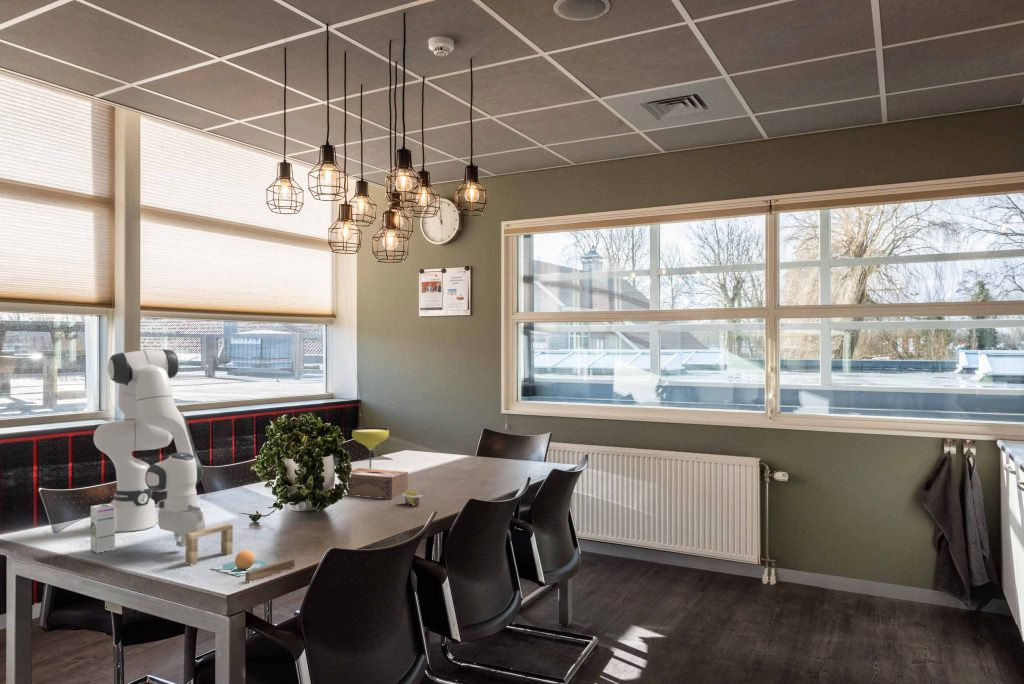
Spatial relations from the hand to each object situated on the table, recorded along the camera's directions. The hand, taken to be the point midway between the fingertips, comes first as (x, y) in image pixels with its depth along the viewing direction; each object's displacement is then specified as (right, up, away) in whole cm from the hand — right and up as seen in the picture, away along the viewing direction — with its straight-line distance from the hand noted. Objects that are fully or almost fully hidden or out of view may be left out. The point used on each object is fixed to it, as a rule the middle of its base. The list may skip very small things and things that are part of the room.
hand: (181, 546), depth 229 cm
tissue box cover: (+45, -3, +91) cm, 101 cm away
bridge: (+12, -2, -7) cm, 15 cm away
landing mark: (+26, -2, -16) cm, 31 cm away
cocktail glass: (+36, -3, +124) cm, 129 cm away
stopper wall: (+37, -2, -22) cm, 43 cm away
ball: (+27, +1, -18) cm, 33 cm away
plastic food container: (+65, -3, +69) cm, 94 cm away
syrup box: (-26, -2, +1) cm, 26 cm away
